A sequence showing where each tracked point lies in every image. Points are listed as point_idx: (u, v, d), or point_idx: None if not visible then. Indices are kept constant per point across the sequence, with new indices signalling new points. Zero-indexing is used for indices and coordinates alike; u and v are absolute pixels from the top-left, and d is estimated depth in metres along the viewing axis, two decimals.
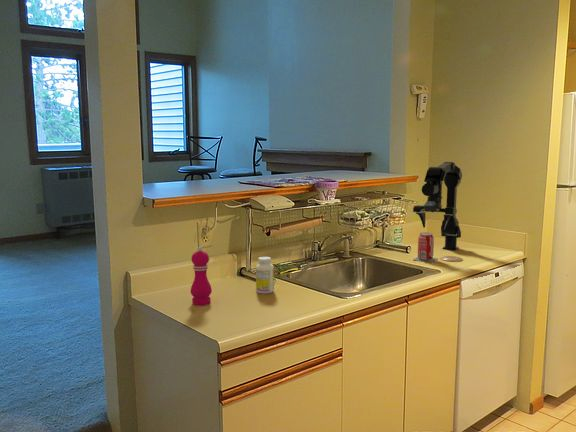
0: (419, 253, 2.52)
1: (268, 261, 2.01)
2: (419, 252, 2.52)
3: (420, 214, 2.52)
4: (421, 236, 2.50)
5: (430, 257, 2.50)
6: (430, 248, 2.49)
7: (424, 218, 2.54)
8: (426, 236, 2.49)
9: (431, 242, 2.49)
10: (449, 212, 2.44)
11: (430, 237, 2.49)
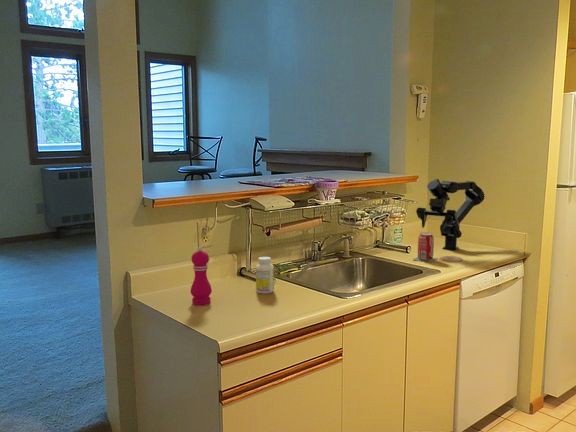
0: (419, 253, 2.52)
1: (268, 261, 2.01)
2: (419, 252, 2.52)
3: (422, 213, 2.63)
4: (421, 236, 2.50)
5: (430, 257, 2.50)
6: (430, 248, 2.49)
7: (424, 221, 2.63)
8: (426, 236, 2.49)
9: (431, 242, 2.49)
10: (451, 211, 2.56)
11: (430, 237, 2.49)
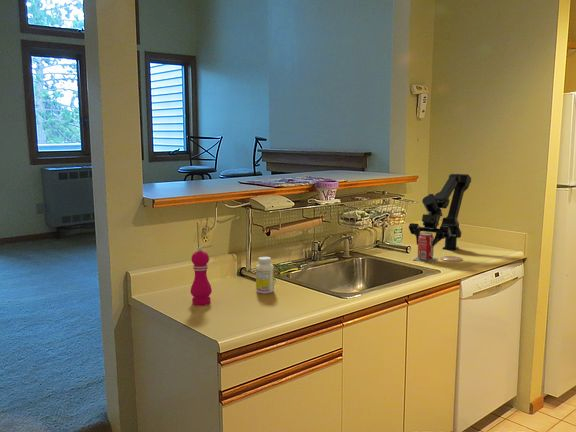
0: (419, 253, 2.52)
1: (268, 261, 2.01)
2: (419, 252, 2.52)
3: (417, 229, 2.55)
4: (421, 236, 2.50)
5: (430, 257, 2.50)
6: (430, 248, 2.49)
7: None
8: (426, 236, 2.49)
9: (431, 242, 2.49)
10: (444, 228, 2.49)
11: (430, 237, 2.49)
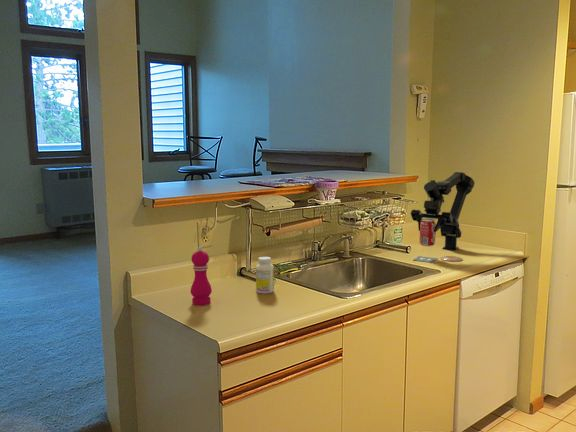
0: (421, 239, 2.52)
1: (268, 261, 2.01)
2: (421, 238, 2.52)
3: (419, 216, 2.56)
4: (423, 222, 2.51)
5: (432, 243, 2.51)
6: (432, 234, 2.50)
7: None
8: (428, 222, 2.50)
9: (433, 228, 2.50)
10: (446, 214, 2.50)
11: (432, 223, 2.50)
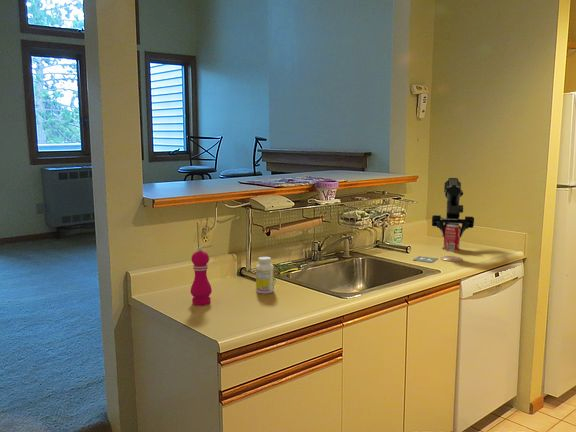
0: (447, 245, 2.51)
1: (268, 261, 2.01)
2: (447, 244, 2.51)
3: (442, 221, 2.54)
4: (449, 228, 2.50)
5: (457, 248, 2.51)
6: (458, 239, 2.50)
7: (443, 229, 2.55)
8: (455, 228, 2.49)
9: (459, 234, 2.50)
10: (470, 218, 2.51)
11: (458, 229, 2.50)
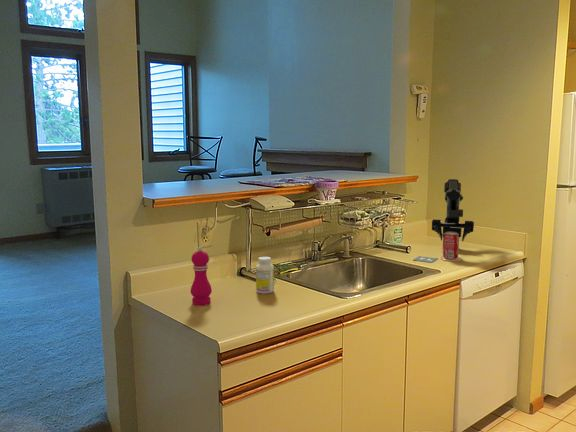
0: (446, 253, 2.52)
1: (268, 261, 2.01)
2: (446, 252, 2.52)
3: (439, 225, 2.54)
4: (448, 235, 2.50)
5: (457, 256, 2.52)
6: (457, 246, 2.51)
7: (441, 233, 2.55)
8: (453, 235, 2.50)
9: (458, 241, 2.51)
10: (470, 223, 2.52)
11: (457, 236, 2.50)
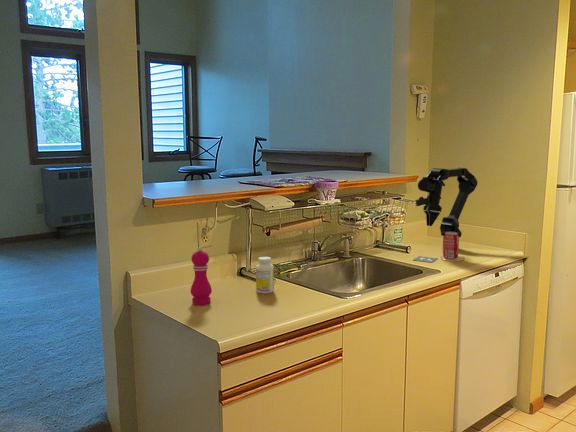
0: (446, 253, 2.52)
1: (268, 261, 2.01)
2: (446, 252, 2.52)
3: None
4: (448, 235, 2.50)
5: (457, 256, 2.52)
6: (457, 246, 2.51)
7: None
8: (453, 235, 2.50)
9: (458, 241, 2.51)
10: (427, 207, 2.57)
11: (457, 236, 2.50)
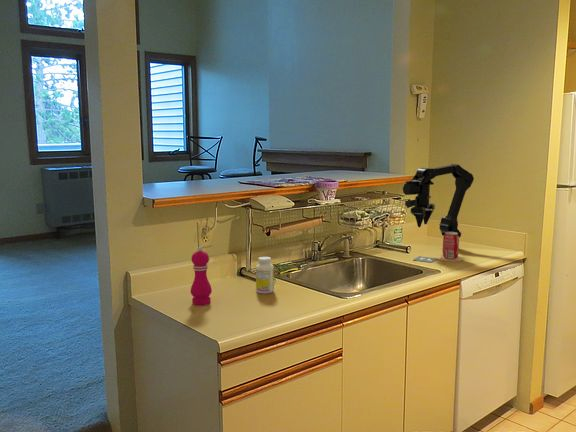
0: (446, 253, 2.52)
1: (268, 261, 2.01)
2: (446, 252, 2.52)
3: None
4: (448, 235, 2.50)
5: (457, 256, 2.52)
6: (457, 246, 2.51)
7: (426, 216, 2.71)
8: (453, 235, 2.50)
9: (458, 241, 2.51)
10: None
11: (457, 236, 2.50)
